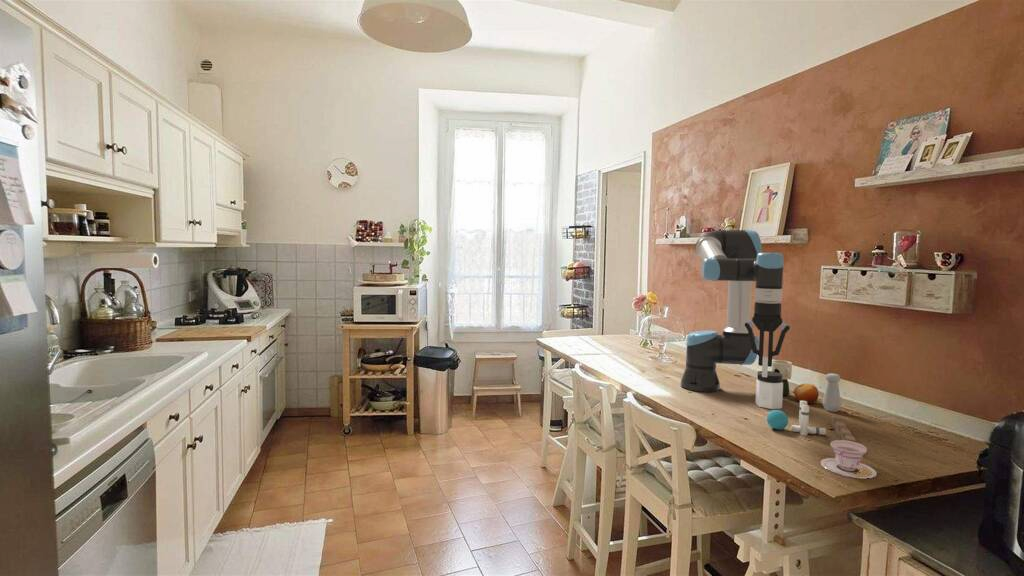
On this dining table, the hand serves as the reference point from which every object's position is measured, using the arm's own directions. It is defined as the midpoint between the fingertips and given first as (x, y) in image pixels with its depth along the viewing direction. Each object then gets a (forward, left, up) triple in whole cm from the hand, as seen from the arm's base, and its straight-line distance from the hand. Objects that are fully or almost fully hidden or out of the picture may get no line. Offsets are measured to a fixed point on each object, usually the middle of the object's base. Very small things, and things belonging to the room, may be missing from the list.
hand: (764, 376), depth 159 cm
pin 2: (+7, +9, -16) cm, 20 cm away
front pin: (+4, +7, -15) cm, 18 cm away
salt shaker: (-18, +34, -17) cm, 42 cm away
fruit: (-28, +31, -17) cm, 45 cm away
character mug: (-38, +27, -17) cm, 49 cm away
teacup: (+31, +6, -17) cm, 36 cm away
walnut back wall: (+9, +20, -16) cm, 27 cm away
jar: (-23, +14, -17) cm, 31 cm away
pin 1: (+2, +12, -16) cm, 20 cm away
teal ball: (+2, +4, -13) cm, 14 cm away
